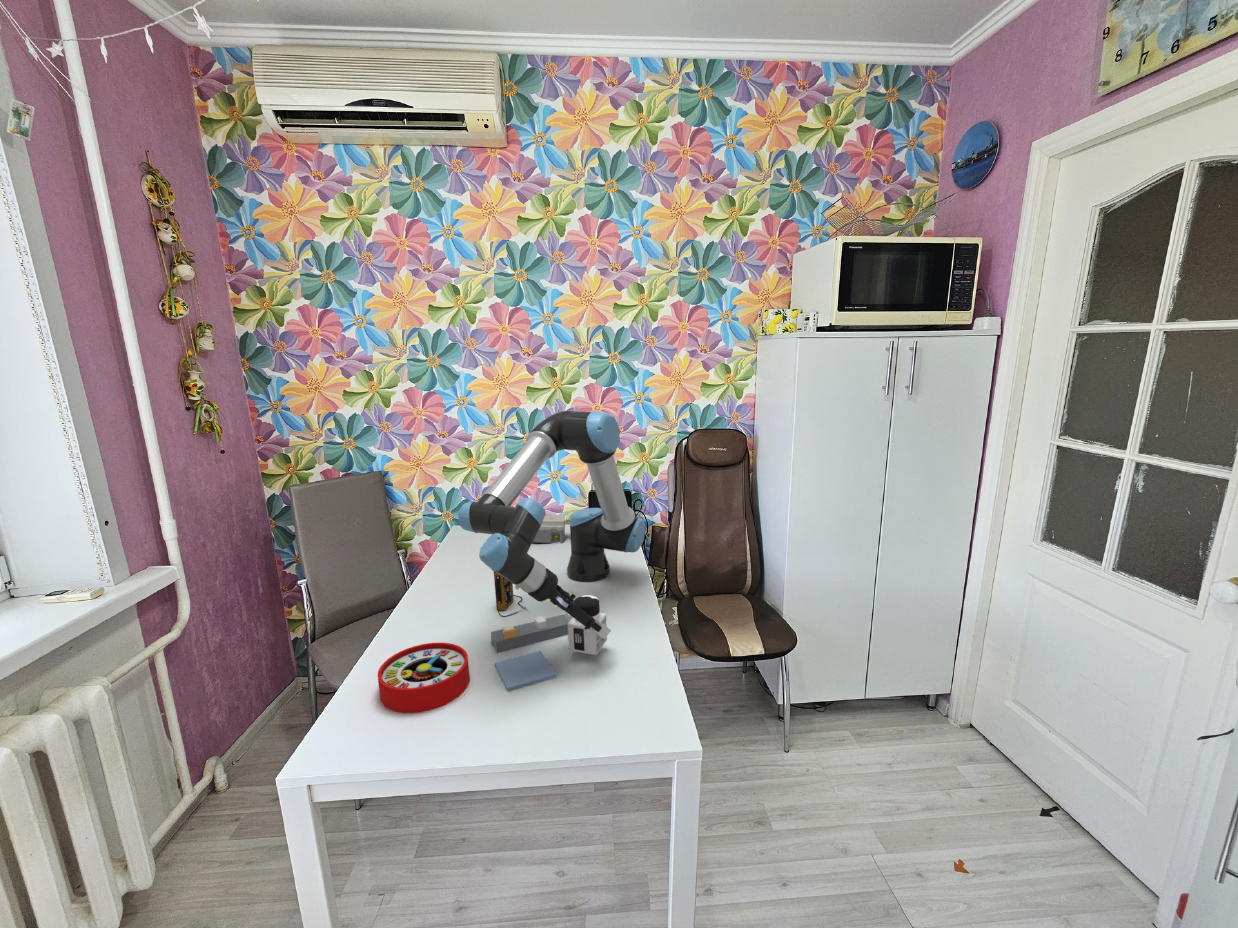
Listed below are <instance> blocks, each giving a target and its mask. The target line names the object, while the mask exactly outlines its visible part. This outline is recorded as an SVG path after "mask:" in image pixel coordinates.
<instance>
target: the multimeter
mask: <svg viewBox="0 0 1238 928" xmlns="http://www.w3.org/2000/svg"><path fill="white" fill-rule="evenodd" d="M493 579H494V591H495V603H496V606H495V607H496V610H497V613H498V614H499V616H500V617H503V618H505V617H509V616H512V615H515V614H518V613H519V612H522V611H523V609H524V610H526V611H528V609H527V607H525V606H524V605H523V604H521V603H522V601H523V597H521V596H519V595H514V584H513V583H511V582H510V581H509V580H507V579H506V578H504V577H503V576H501V575H500V574H498V573H497V572H495V571H493ZM514 597H516V598H517V597H518V598H520V599H521V600H520V601H518V602H517V604H518V605H519V606H521V608H522V609H521V610H516V611H514V612H511V613H509V614H507V615H502V614H501V612H500V611H506V610H507V609H508V607H509V606H510V605H511V604H512V603H513V602H514Z"/></svg>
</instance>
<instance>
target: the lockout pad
mask: <svg viewBox="0 0 1238 928" xmlns="http://www.w3.org/2000/svg"><path fill="white" fill-rule="evenodd" d="M494 667H495V669H496V672H497V673H498V676H499V677H500V680H501V682H502V684H503V686H504V687H505V690H506V691H507V692H510V691H513V690H517V689H521V688H523V687H527V686H530V685H534V684H537V683H542V682H545V681H548V680H551V679H555V678H557V676H558V675H557V673H556V671H555V669H554V668H553V667H552V665H551V664H550V662H549V661H548V660H547V658H546V657H545V655H544V654H543V652H542V650H537V651H534V652H531V653H527V654H523V655H519V656H516V657H513V658H512V657H511V658H509V659H503V660H502V661H498V662H494Z"/></svg>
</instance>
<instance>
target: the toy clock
mask: <svg viewBox="0 0 1238 928" xmlns="http://www.w3.org/2000/svg"><path fill="white" fill-rule="evenodd" d="M469 667H470V666H469V655H468V653H467V651H466V650H465V649H464V647H462V646H460V645H457V644H454V643H450V642H428V643H427V642H426V643H421V644H418V645H413V646H411V647H408V648H405V649H403V650H400V651H398V652H397V653H395V654H393V655H391V656H390V657H389V658H387V659H386V660H385V661H384V662H383V663H382V664H381V665H380V667H379V668H378V671H377V682H378V691H379V698H380V702H381V704H382V706H383V707H385V708H386V709H388V710H390V711H392V712H396V713H402V714H416V713H417V714H418V713H424V712H429V711H432V710H434V709H439V708H442V707H443V706H446V705H447V704H450V703H451V702H453V701H454V700H456V699H457V698H459V697H460V696H461V695H462V694H463V693H464V692H465V691H466V690H467V688H468V686H469V685H470V680H471V678H470V669H469Z"/></svg>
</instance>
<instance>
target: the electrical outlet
mask: <svg viewBox="0 0 1238 928" xmlns="http://www.w3.org/2000/svg"><path fill="white" fill-rule="evenodd" d="M566 525H569V526H570V519H565V515H553V514H552V515H550V514H549V515H548V514H547V515H546V514H545V516H544V519H543V521H542V524H541V527H540V528H539V530H538V532H537V534H536V536H535V538H534V540H533V542H532V543H542V544H544V543H550V544H551V543H552V542H561V543H560V544H562V543H563V542H562V541H564V542H565V538H566V537H565V532H566V530H565V528H566Z"/></svg>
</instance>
